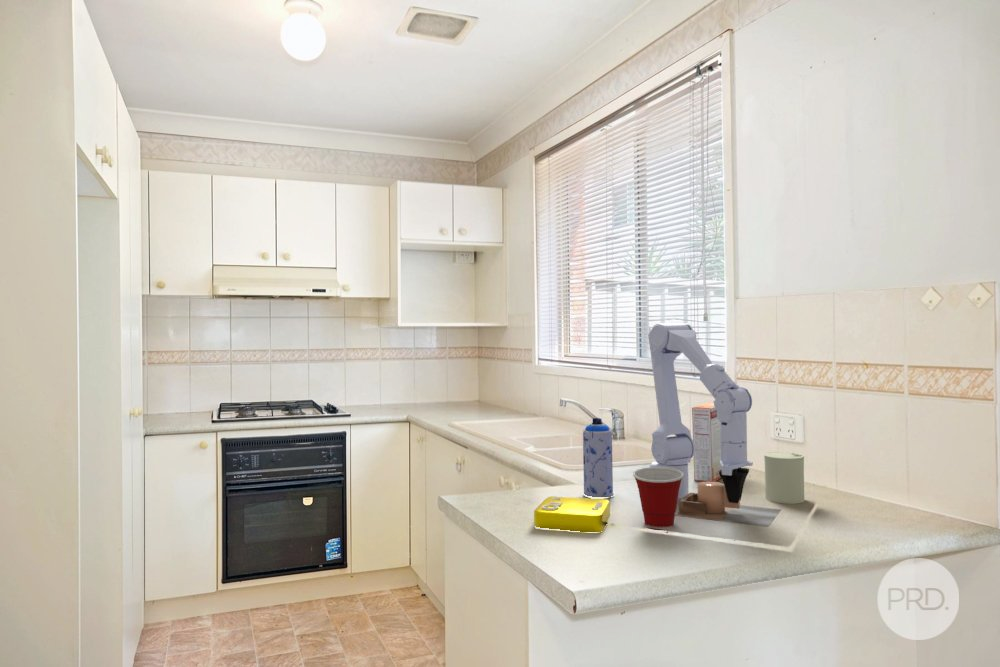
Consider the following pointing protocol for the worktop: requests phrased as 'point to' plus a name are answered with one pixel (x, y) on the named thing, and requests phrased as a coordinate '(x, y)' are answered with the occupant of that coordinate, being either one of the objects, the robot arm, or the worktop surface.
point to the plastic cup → (658, 494)
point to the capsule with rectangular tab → (714, 497)
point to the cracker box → (706, 443)
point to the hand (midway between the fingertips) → (734, 501)
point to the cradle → (727, 512)
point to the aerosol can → (597, 460)
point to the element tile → (572, 514)
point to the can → (784, 477)
